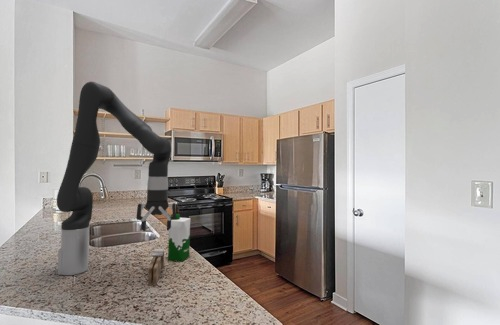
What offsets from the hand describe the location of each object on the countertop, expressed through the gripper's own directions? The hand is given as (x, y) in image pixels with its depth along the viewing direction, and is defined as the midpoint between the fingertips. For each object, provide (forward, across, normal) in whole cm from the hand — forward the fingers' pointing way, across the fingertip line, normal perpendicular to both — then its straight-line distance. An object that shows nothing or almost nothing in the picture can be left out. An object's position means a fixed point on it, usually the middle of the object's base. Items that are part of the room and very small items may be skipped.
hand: (156, 230), depth 99 cm
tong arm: (+17, 0, -1) cm, 17 cm away
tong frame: (+17, 0, +1) cm, 17 cm away
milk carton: (+18, +8, +18) cm, 26 cm away
